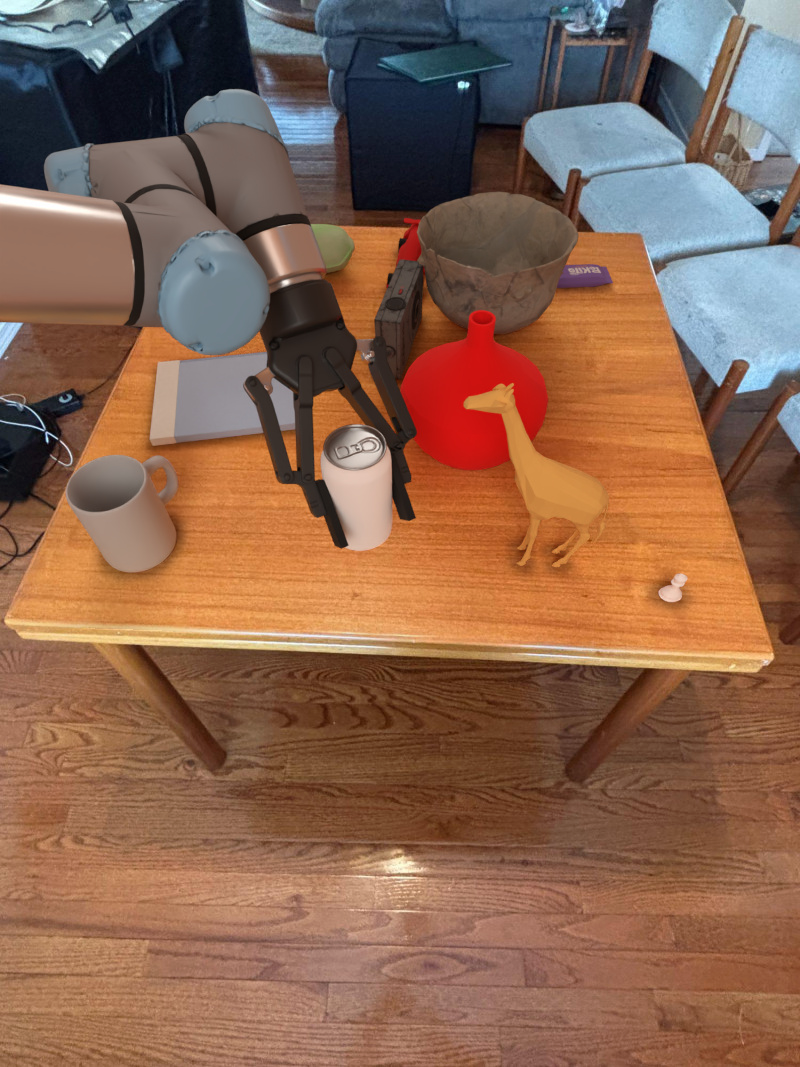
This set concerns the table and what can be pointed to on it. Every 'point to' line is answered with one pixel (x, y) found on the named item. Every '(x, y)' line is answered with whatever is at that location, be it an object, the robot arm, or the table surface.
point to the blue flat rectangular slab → (212, 399)
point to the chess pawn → (673, 589)
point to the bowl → (495, 257)
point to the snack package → (584, 276)
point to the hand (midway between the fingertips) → (375, 531)
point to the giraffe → (545, 479)
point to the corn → (333, 246)
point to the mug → (125, 509)
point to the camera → (401, 313)
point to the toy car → (408, 245)
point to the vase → (465, 372)
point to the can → (359, 483)
